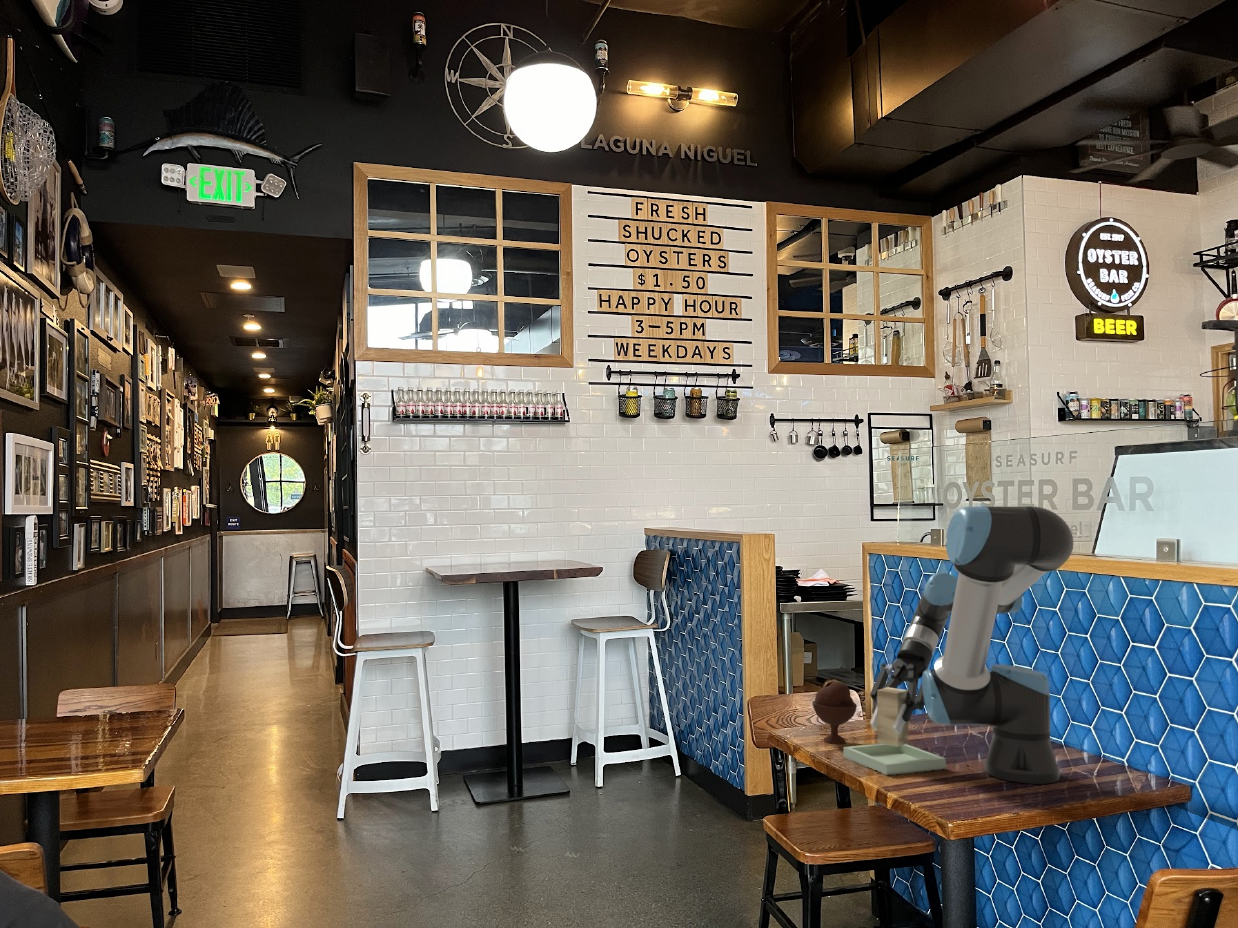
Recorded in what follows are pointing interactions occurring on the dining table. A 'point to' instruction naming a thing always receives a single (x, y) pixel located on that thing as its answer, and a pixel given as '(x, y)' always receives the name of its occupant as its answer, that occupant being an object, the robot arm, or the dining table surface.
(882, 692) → the block
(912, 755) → the tray
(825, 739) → the ice cream bowl
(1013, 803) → the dining table surface
